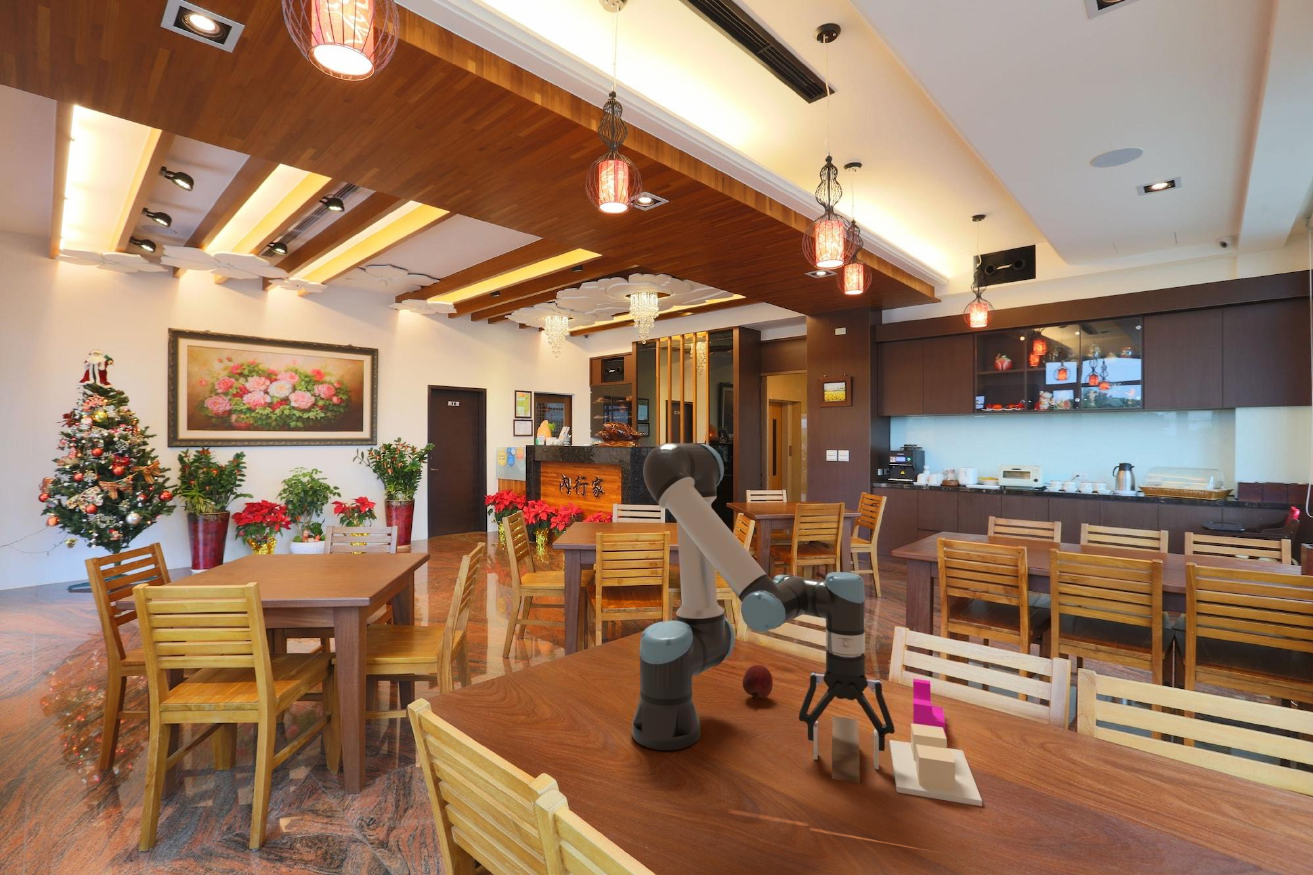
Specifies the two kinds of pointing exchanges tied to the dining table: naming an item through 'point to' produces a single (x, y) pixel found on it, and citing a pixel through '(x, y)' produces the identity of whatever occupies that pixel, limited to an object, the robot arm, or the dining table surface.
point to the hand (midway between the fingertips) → (845, 760)
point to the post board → (932, 792)
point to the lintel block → (845, 749)
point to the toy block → (925, 706)
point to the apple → (758, 681)
